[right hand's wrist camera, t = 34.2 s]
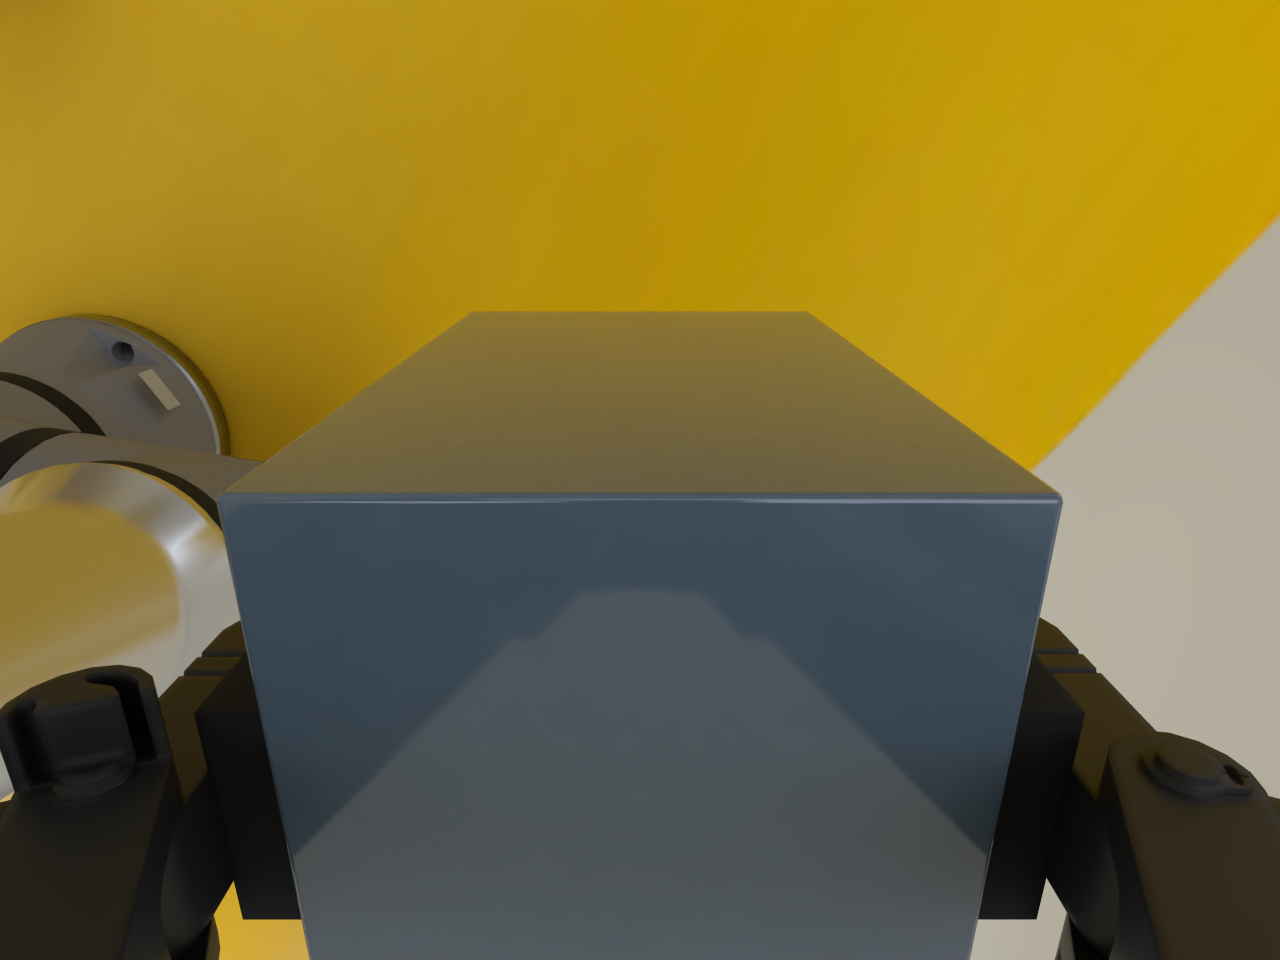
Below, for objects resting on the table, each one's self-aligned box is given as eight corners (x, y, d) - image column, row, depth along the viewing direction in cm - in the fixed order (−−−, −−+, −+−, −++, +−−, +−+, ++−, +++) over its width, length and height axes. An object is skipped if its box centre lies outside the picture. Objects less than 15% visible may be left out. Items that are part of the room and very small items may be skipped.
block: (786, 625, 19) (945, 1096, 9) (493, 625, 19) (334, 1096, 9) (809, 311, 16) (1069, 495, 7) (469, 311, 16) (209, 495, 7)
